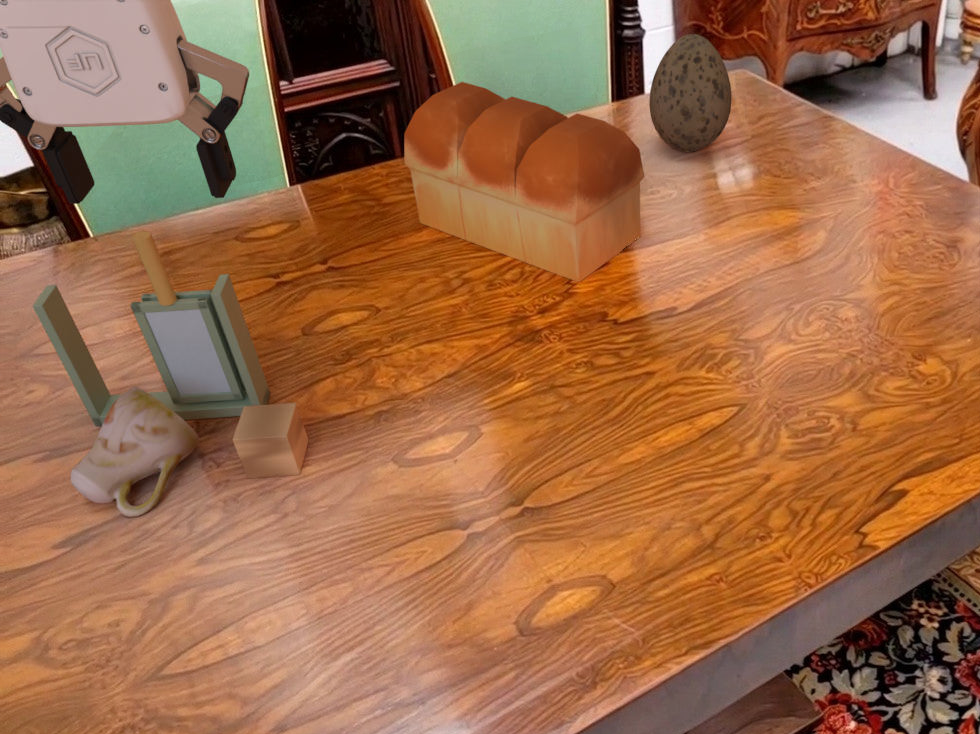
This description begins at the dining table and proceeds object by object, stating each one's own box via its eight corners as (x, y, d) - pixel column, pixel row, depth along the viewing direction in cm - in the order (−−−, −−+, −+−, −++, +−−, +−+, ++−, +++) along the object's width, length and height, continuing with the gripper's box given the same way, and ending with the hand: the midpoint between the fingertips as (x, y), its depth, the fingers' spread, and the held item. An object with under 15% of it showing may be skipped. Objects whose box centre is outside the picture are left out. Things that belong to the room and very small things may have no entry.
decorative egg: (721, 169, 122) (727, 52, 113) (641, 161, 124) (640, 46, 115) (734, 135, 130) (741, 23, 120) (659, 129, 132) (659, 18, 122)
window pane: (172, 407, 84) (98, 241, 73) (176, 397, 85) (104, 233, 74) (242, 402, 85) (179, 237, 74) (245, 392, 86) (184, 228, 75)
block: (247, 478, 79) (231, 439, 76) (258, 444, 83) (243, 406, 80) (300, 474, 80) (286, 436, 77) (308, 440, 83) (296, 402, 80)
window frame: (95, 426, 85) (31, 305, 76) (106, 404, 87) (46, 284, 78) (264, 414, 86) (220, 294, 77) (270, 393, 88) (229, 273, 79)
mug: (56, 503, 78) (52, 384, 76) (175, 487, 85) (174, 378, 83) (94, 525, 73) (90, 400, 71) (216, 506, 81) (215, 392, 79)
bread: (645, 237, 109) (643, 113, 100) (580, 284, 102) (571, 156, 92) (485, 183, 120) (470, 67, 110) (415, 223, 113) (392, 102, 103)
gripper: (-134, -56, 52) (4, 223, 63) (187, -63, 53) (267, 212, 64) (-70, -88, 57) (47, 173, 69) (220, -94, 58) (288, 164, 70)
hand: (153, 192), depth 66 cm, fingers open, 9 cm apart
